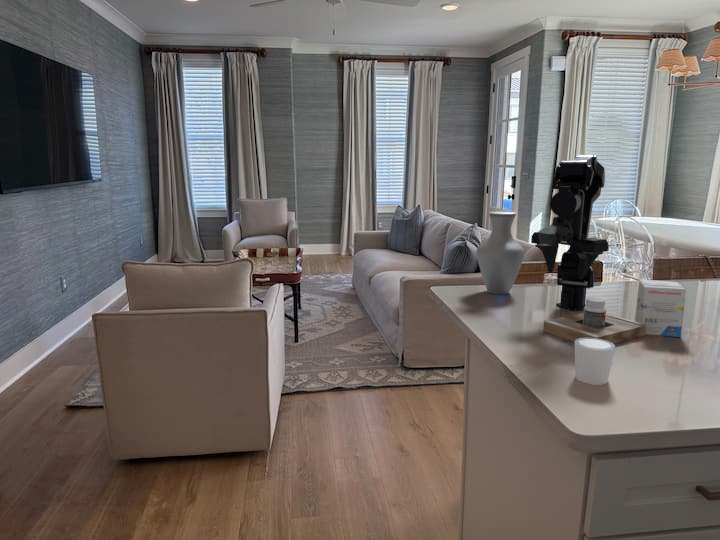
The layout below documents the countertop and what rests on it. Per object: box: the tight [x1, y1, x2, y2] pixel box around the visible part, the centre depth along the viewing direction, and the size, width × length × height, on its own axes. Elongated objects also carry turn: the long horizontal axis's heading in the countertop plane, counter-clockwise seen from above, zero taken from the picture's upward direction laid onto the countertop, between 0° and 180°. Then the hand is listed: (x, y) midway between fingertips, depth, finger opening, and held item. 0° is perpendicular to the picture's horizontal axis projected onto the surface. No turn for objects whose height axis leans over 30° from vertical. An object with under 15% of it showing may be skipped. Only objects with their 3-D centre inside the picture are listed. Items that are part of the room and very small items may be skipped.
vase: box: [476, 211, 526, 296], centre depth 158 cm, size 14×14×25 cm
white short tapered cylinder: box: [574, 338, 616, 386], centre depth 95 cm, size 7×7×7 cm
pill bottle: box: [583, 296, 607, 329], centre depth 120 cm, size 5×5×8 cm
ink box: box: [634, 278, 687, 338], centre depth 122 cm, size 9×8×12 cm
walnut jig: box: [542, 312, 646, 345], centre depth 121 cm, size 18×14×3 cm
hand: (565, 275), depth 128 cm, fingers open, 9 cm apart
